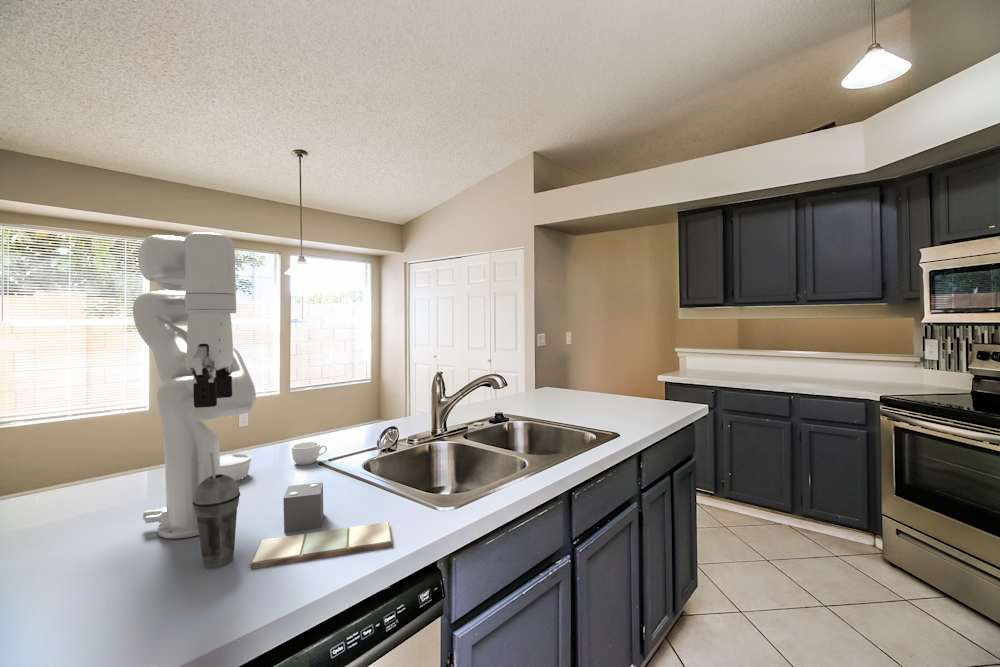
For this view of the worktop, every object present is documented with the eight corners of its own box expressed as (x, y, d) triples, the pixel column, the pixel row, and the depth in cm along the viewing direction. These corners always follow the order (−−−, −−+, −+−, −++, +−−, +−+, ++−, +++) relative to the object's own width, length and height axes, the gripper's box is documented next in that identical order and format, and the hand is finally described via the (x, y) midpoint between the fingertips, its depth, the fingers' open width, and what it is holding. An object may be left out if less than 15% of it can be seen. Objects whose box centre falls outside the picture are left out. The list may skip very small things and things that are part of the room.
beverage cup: (250, 550, 85) (247, 445, 84) (228, 572, 77) (224, 457, 77) (210, 551, 84) (207, 445, 84) (184, 573, 77) (180, 457, 76)
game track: (250, 568, 78) (250, 563, 78) (261, 544, 87) (261, 539, 87) (392, 546, 86) (392, 541, 86) (389, 525, 94) (388, 521, 94)
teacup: (294, 468, 131) (294, 450, 131) (289, 461, 137) (289, 444, 137) (330, 462, 137) (329, 444, 137) (323, 455, 143) (323, 439, 143)
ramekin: (260, 473, 128) (260, 455, 127) (227, 487, 117) (227, 467, 117) (228, 470, 130) (227, 452, 130) (193, 484, 119) (192, 464, 119)
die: (284, 532, 92) (283, 497, 92) (289, 517, 98) (288, 485, 98) (321, 527, 94) (320, 493, 94) (323, 513, 101) (322, 481, 100)
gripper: (202, 306, 86) (205, 395, 87) (166, 303, 70) (170, 412, 70) (246, 306, 89) (249, 393, 89) (221, 303, 72) (225, 409, 73)
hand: (214, 401), depth 80 cm, fingers open, 9 cm apart
